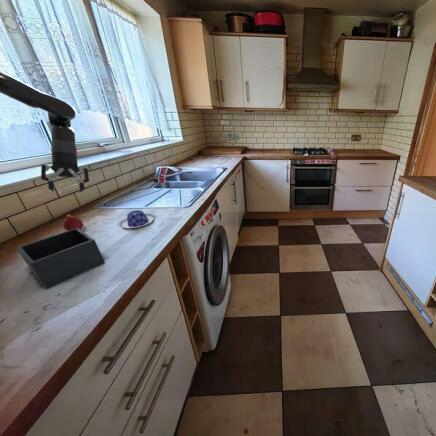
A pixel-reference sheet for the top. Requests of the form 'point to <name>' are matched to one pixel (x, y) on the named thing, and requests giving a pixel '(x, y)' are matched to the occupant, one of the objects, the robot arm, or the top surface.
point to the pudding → (137, 219)
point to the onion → (72, 223)
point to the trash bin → (61, 256)
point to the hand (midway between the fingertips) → (67, 191)
